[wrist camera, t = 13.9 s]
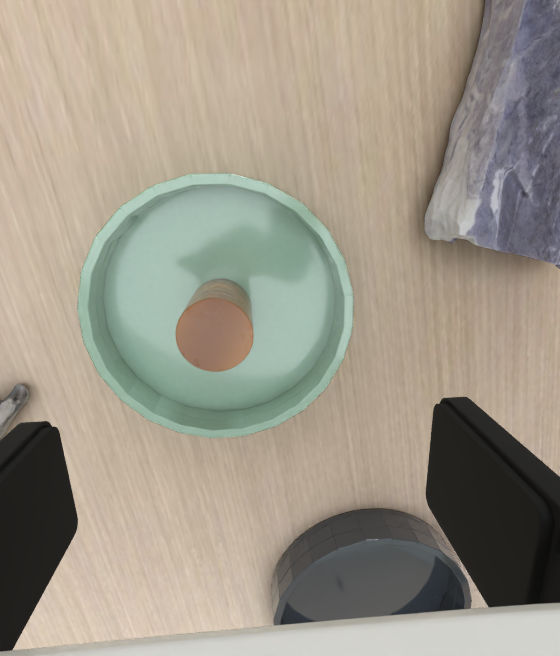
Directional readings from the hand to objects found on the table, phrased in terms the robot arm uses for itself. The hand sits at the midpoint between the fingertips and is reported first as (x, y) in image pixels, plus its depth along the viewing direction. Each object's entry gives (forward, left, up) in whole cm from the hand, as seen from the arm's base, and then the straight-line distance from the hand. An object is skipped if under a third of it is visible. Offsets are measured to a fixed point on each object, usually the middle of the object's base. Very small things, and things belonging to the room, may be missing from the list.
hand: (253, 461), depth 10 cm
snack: (+1, +1, -17) cm, 17 cm away
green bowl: (+1, +1, -18) cm, 18 cm away
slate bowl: (-21, +18, -18) cm, 33 cm away
